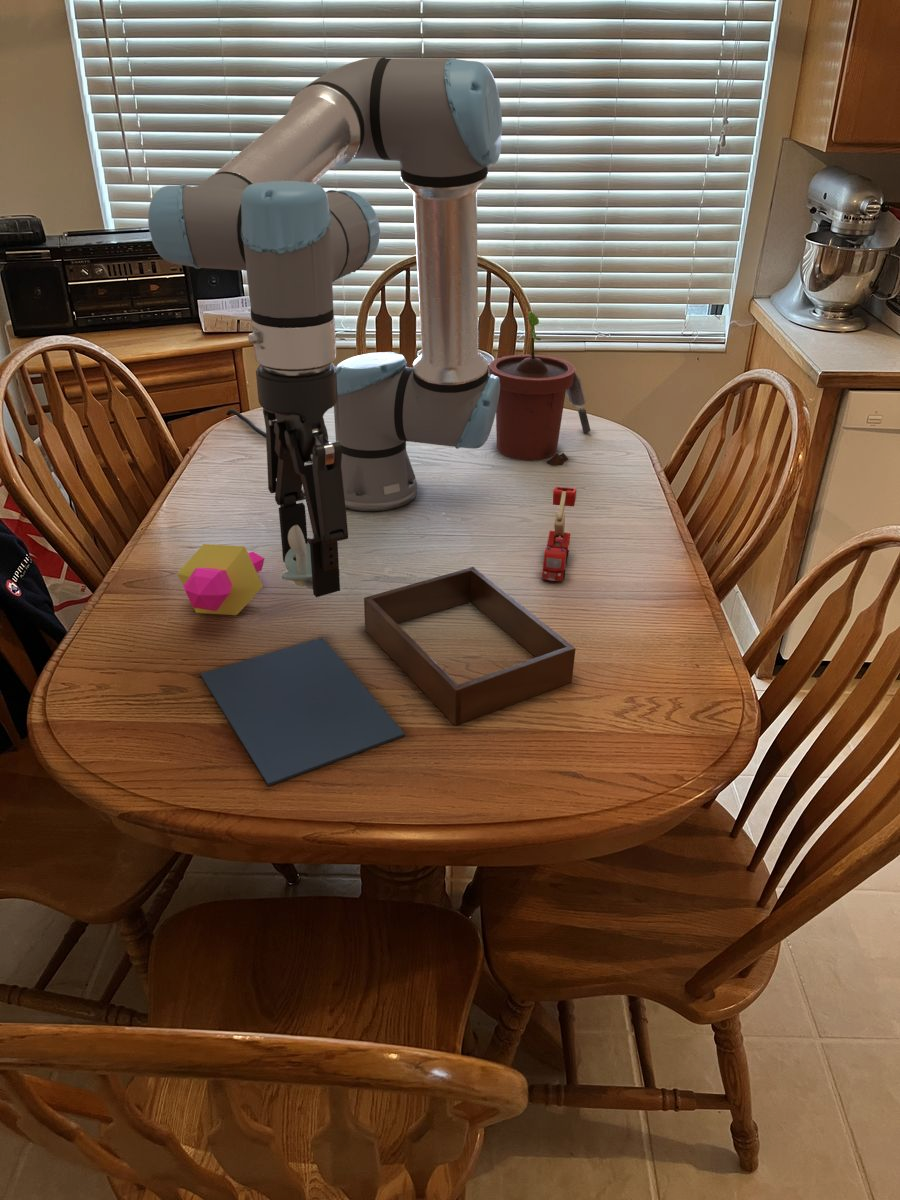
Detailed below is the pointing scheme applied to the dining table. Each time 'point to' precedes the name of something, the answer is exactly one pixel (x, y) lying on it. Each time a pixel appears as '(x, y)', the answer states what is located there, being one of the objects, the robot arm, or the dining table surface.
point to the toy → (221, 578)
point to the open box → (507, 613)
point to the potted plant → (534, 403)
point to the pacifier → (298, 559)
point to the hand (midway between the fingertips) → (310, 575)
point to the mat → (299, 709)
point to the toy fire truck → (558, 547)
